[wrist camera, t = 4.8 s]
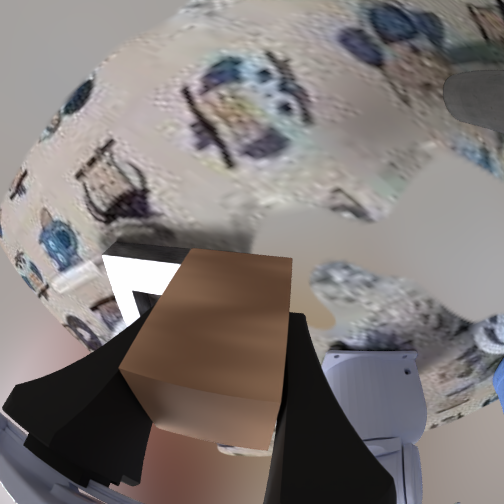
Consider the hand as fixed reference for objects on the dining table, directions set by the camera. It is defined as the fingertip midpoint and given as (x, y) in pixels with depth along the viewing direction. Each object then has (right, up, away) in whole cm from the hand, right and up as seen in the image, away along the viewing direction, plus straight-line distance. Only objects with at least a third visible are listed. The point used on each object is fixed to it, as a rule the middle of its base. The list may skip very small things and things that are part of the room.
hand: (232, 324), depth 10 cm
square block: (0, +1, +1) cm, 2 cm away
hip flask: (+20, +14, -1) cm, 24 cm away
